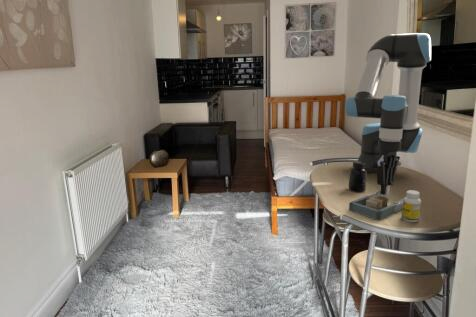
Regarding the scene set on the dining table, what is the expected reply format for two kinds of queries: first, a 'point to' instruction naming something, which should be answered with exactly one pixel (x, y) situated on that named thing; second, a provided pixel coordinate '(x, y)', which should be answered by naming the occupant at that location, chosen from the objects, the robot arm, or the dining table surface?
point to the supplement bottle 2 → (411, 206)
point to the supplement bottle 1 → (357, 177)
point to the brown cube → (383, 199)
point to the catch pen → (370, 209)
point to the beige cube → (374, 203)
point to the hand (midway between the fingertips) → (383, 201)
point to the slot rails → (396, 208)
